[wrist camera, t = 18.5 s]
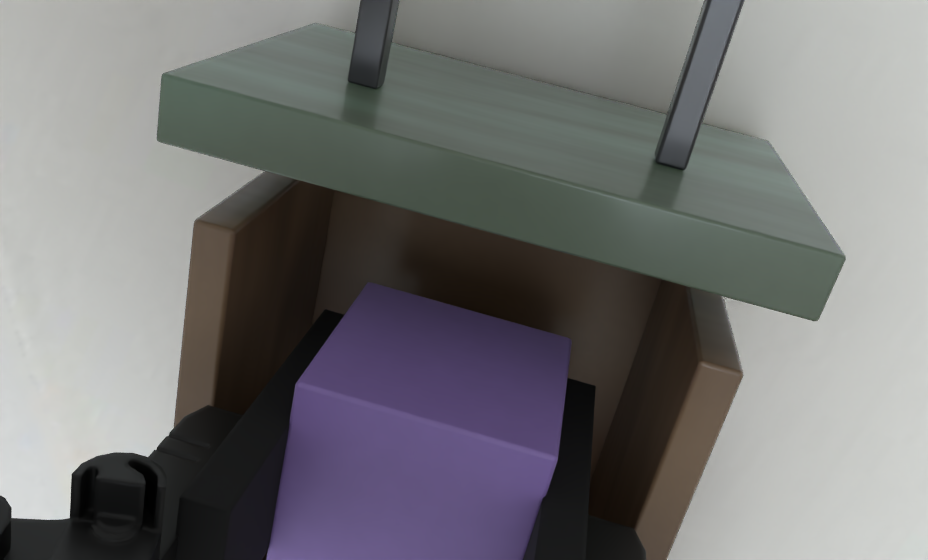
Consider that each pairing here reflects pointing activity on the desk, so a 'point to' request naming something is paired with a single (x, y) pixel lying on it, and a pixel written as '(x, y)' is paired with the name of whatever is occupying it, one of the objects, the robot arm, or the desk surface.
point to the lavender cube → (420, 435)
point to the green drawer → (496, 230)
